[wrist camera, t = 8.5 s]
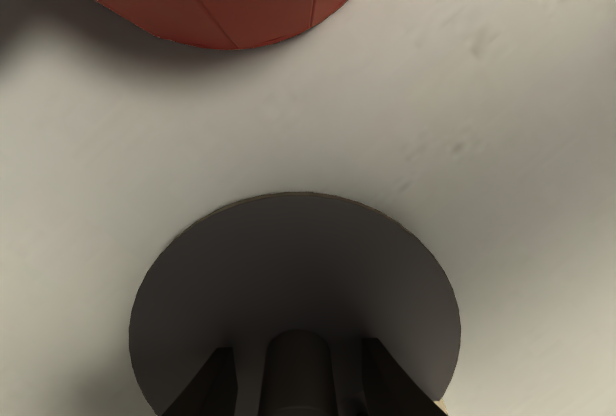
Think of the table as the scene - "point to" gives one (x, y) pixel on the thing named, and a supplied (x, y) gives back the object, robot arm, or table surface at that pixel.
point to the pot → (224, 20)
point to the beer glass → (355, 407)
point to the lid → (293, 305)
